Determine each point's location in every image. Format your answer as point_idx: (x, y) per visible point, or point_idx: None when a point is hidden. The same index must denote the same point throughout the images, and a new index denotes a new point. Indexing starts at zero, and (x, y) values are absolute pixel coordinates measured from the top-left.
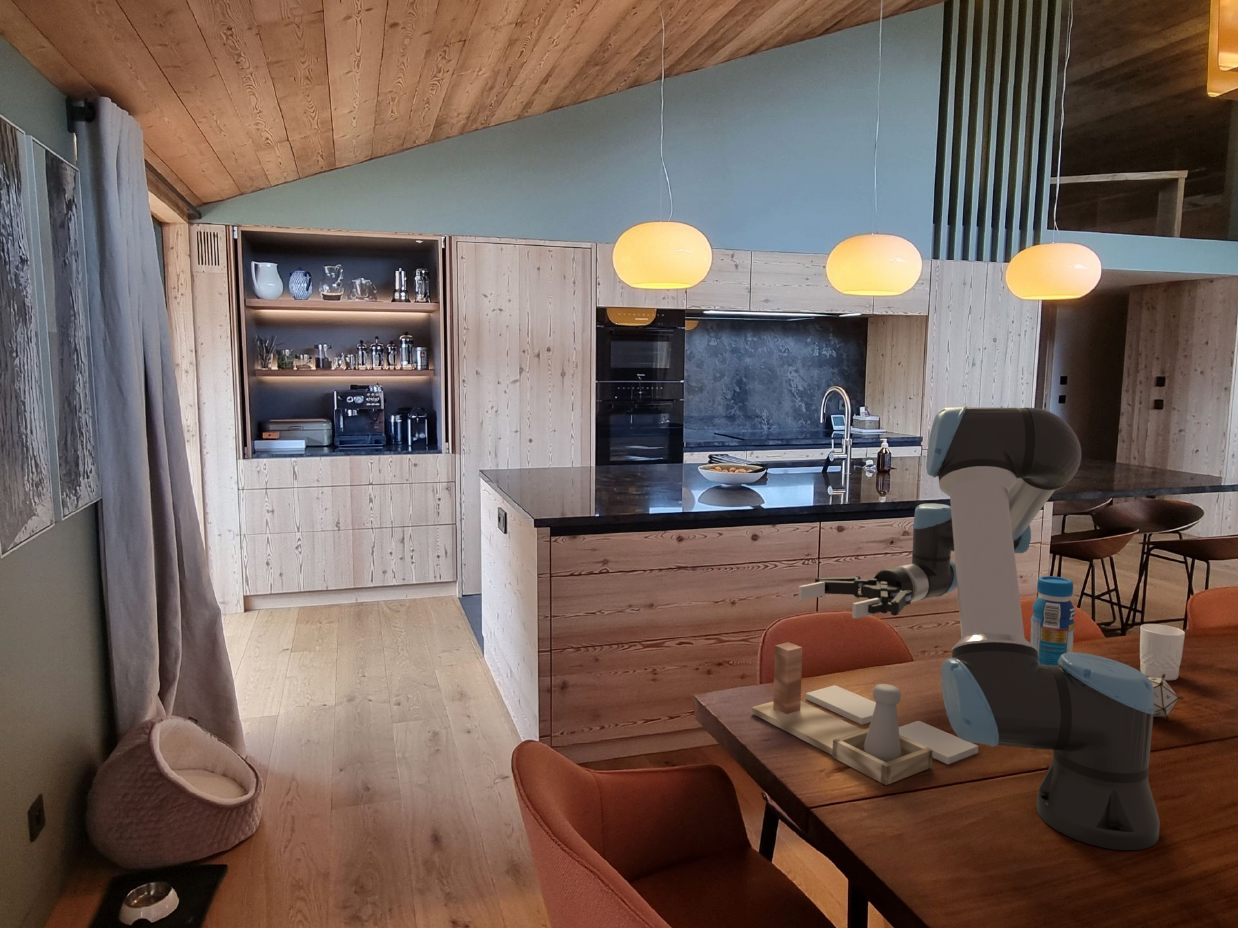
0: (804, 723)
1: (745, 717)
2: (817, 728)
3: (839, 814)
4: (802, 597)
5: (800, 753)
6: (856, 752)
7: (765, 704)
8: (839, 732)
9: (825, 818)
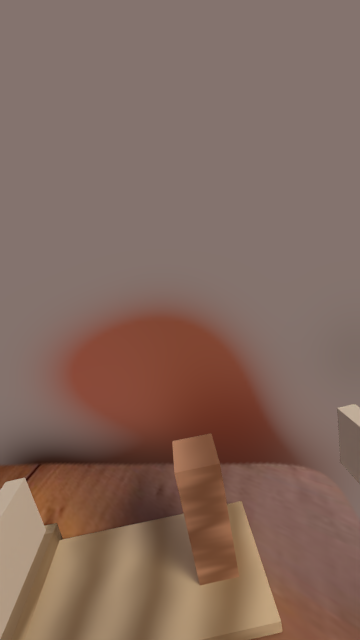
0: (148, 552)
1: (234, 497)
2: (120, 562)
3: (11, 479)
4: (344, 458)
5: (106, 510)
6: None
7: (247, 529)
8: (82, 597)
9: (21, 466)
